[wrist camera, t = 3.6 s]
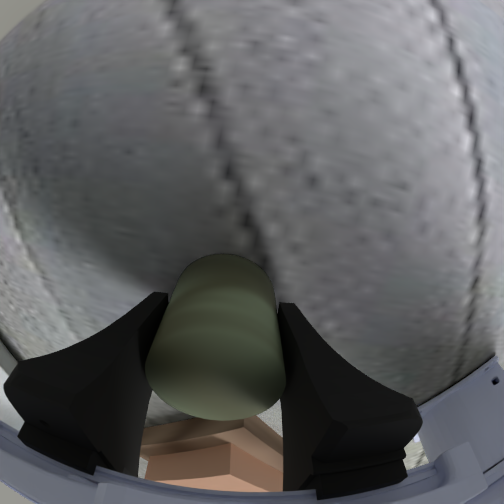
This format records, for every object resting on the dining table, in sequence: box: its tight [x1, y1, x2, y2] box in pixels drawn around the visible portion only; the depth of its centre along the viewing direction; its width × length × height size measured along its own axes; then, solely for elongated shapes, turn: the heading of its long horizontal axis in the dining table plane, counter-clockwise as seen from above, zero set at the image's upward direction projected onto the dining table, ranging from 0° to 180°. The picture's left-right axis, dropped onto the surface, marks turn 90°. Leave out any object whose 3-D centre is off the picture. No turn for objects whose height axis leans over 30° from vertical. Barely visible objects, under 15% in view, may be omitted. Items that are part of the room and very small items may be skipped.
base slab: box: [140, 415, 283, 473], centre depth 19 cm, size 11×11×2 cm
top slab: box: [145, 443, 283, 492], centre depth 16 cm, size 8×8×2 cm
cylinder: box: [145, 254, 286, 421], centre depth 10 cm, size 4×4×5 cm
